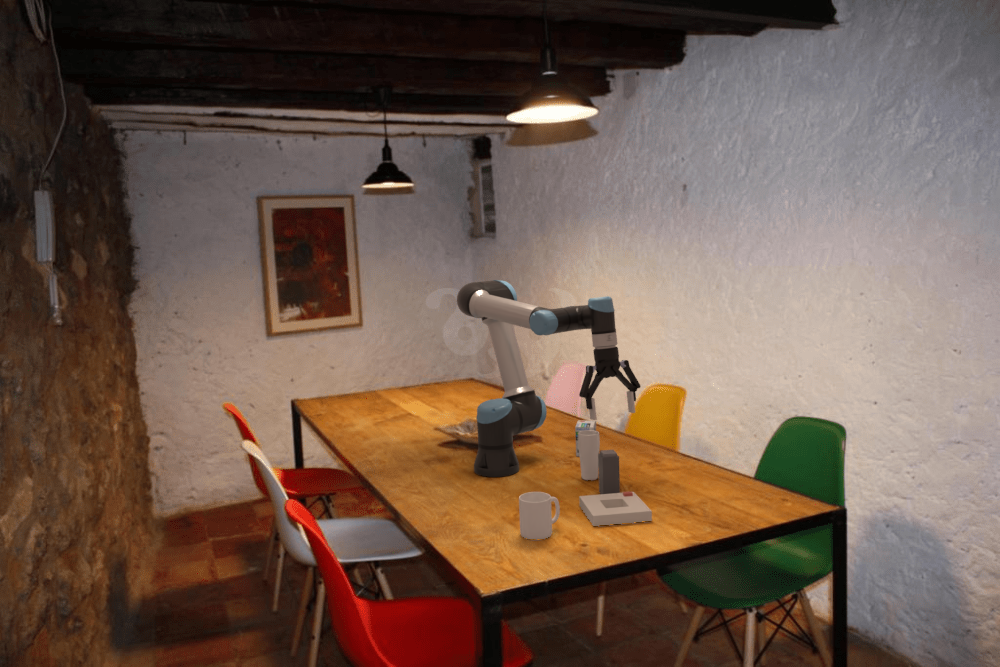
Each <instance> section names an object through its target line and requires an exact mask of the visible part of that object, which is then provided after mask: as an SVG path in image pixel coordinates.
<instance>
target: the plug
mask: <svg viewBox="0 0 1000 667" xmlns="http://www.w3.org/2000/svg"><path fill="white" fill-rule="evenodd" d="M620 476H621V475H620V456H619V455H618V453H617V452H616V451H615V449H604V450H603V449H601V450H599V453H598V493H599V492H600V493H599V495H600V494H612V493H621V484H620V482H621V481H620V480H621V478H620Z"/></svg>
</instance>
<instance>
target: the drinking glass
mask: <svg viewBox="0 0 1000 667" xmlns="http://www.w3.org/2000/svg"><path fill="white" fill-rule="evenodd" d="M600 440H601V439H600V432H599V431H598V430H596V431H594V430H584V431H580V432H578V447H579V456H578V457H579V460H580V461H579V464H580V474H581V479H582V480H584V481H588V480H591V481H595V480H597V479H599V468H598V453H600V446H601V445H600Z"/></svg>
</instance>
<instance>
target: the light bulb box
mask: <svg viewBox="0 0 1000 667" xmlns="http://www.w3.org/2000/svg"><path fill="white" fill-rule="evenodd" d="M574 430H575V455H576V456H575V457H580V456H579V447H578V432H580V431H584V430H594V431H597V421H596V420H582V419H581V420H580V419H578V420H577V422H576V425H575V427H574Z"/></svg>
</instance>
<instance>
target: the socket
mask: <svg viewBox="0 0 1000 667" xmlns="http://www.w3.org/2000/svg"><path fill="white" fill-rule="evenodd" d="M578 498H579V499H578V501H579V504H578V505H579V508H580V507H581V508H580V510H581V511H582V510H583V511H582V513H583V514H584V513H585V514H584V516H585V517H586V516H587V517H586V518H587V520H588V519H589V520H590V521H589V520H588V521H589V522H591V523H592V524H591V523H590V524H591V526H592V525H593V526H598V527H600V526H599V525H609V526H611V525H610V524H621V525H623V524H622V523H632V524H635V523H634V522H642V521H652V522H653V513H652V512H653V511H652V510H651V508H649V507H648V505H647V504H646V503H645V502H644V501H643V500H642V499H641V498H640V497H639V496H638V494H636V492H634V491H631V490H630V491H622V492H620V493H612V494H600V493H599V494H588V495H580V496H578ZM593 526H592V527H593Z"/></svg>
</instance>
